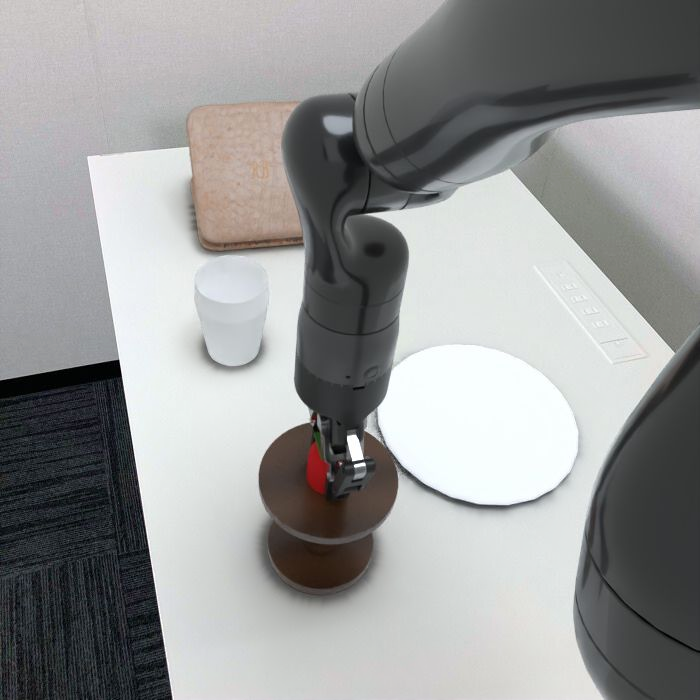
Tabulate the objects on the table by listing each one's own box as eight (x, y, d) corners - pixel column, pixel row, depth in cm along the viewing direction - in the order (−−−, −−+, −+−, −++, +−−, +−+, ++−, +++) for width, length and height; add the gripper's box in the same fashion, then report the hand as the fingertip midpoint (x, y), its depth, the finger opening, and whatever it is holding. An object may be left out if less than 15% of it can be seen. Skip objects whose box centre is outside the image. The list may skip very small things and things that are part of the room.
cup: (251, 382, 92) (250, 313, 84) (185, 361, 94) (178, 291, 85) (279, 335, 98) (281, 266, 90) (217, 316, 100) (213, 246, 91)
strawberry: (356, 490, 67) (363, 457, 64) (312, 499, 66) (315, 466, 63) (344, 453, 70) (349, 419, 66) (301, 461, 69) (304, 427, 65)
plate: (397, 519, 81) (399, 513, 80) (360, 353, 97) (361, 347, 97) (608, 500, 85) (612, 494, 84) (537, 344, 102) (540, 338, 101)
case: (200, 257, 108) (193, 162, 96) (187, 177, 122) (180, 85, 110) (336, 247, 112) (345, 155, 101) (309, 170, 126) (314, 81, 115)
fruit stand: (397, 588, 75) (417, 522, 66) (272, 618, 72) (274, 552, 62) (361, 483, 83) (374, 411, 74) (247, 504, 80) (246, 432, 71)
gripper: (277, 288, 59) (273, 419, 72) (321, 426, 50) (308, 550, 62) (366, 277, 61) (347, 407, 74) (424, 409, 52) (391, 532, 64)
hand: (329, 472), depth 68 cm, fingers open, 4 cm apart
